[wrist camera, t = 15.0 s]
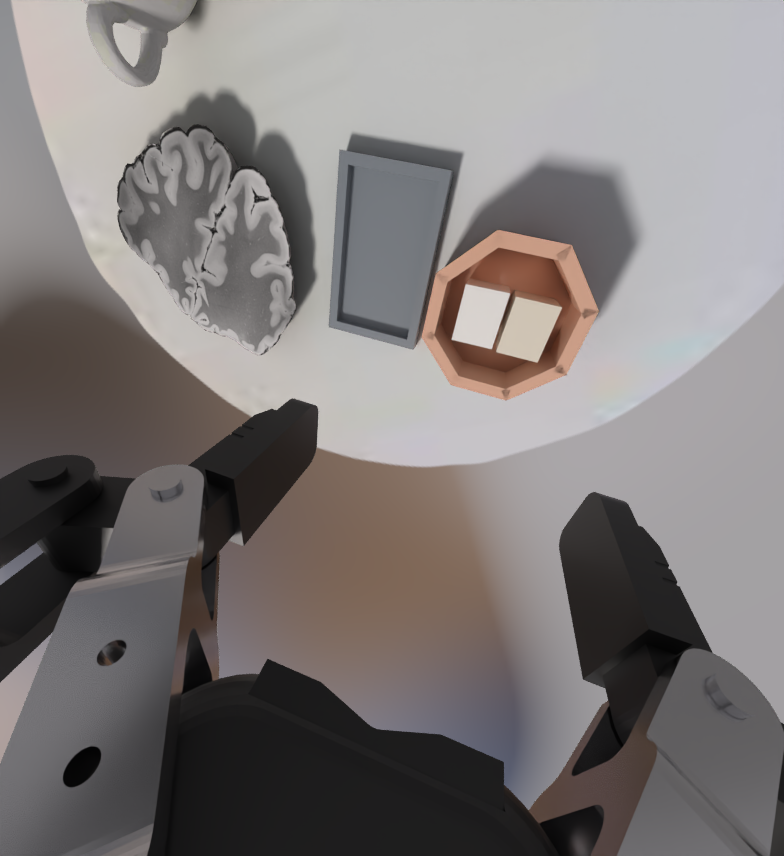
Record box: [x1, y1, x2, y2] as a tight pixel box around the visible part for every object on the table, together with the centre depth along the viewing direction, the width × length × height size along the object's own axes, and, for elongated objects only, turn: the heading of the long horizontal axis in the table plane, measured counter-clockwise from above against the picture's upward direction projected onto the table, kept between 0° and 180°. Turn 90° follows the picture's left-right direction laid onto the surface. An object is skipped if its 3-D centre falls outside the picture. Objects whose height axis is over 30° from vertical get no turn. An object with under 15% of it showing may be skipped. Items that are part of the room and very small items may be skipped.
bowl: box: [422, 230, 599, 400], centre depth 27 cm, size 12×12×5 cm
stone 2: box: [496, 290, 562, 363], centre depth 27 cm, size 4×3×4 cm
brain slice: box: [117, 125, 296, 355], centre depth 32 cm, size 20×17×3 cm
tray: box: [329, 150, 454, 349], centre depth 29 cm, size 14×9×1 cm, turn 170°
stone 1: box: [452, 278, 510, 349], centre depth 27 cm, size 4×3×4 cm
